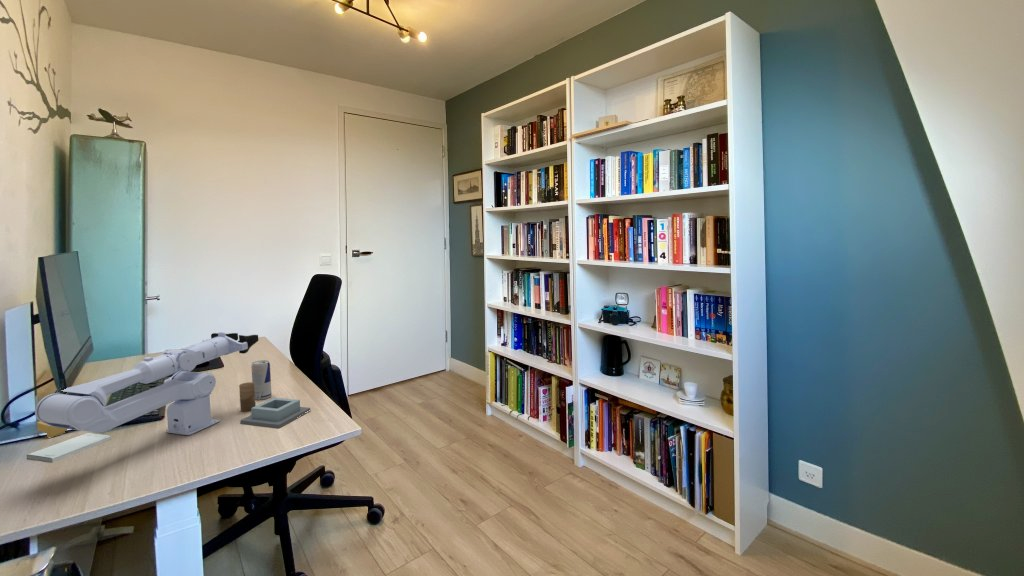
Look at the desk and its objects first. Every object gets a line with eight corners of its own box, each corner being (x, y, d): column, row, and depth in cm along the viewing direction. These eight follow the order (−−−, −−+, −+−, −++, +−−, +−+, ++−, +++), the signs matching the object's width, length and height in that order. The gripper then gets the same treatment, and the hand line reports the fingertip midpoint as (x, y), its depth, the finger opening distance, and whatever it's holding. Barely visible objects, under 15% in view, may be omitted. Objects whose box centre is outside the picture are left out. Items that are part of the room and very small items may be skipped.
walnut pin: (248, 412, 133) (247, 386, 132) (237, 411, 134) (236, 385, 133) (258, 407, 137) (257, 382, 136) (248, 406, 138) (246, 381, 137)
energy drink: (275, 394, 148) (273, 360, 147) (264, 400, 143) (262, 364, 142) (260, 394, 149) (258, 359, 147) (249, 399, 143) (247, 364, 142)
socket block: (279, 428, 122) (278, 414, 121) (240, 423, 125) (239, 410, 124) (310, 410, 134) (309, 398, 134) (274, 407, 137) (273, 394, 137)
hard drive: (52, 458, 102) (110, 435, 114) (26, 454, 104) (86, 432, 116) (52, 464, 102) (111, 441, 114) (26, 460, 104) (87, 437, 116)
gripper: (228, 338, 123) (265, 326, 136) (187, 334, 127) (226, 323, 140) (231, 362, 125) (267, 347, 138) (190, 358, 128) (229, 344, 141)
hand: (247, 337), depth 139 cm, fingers open, 7 cm apart
